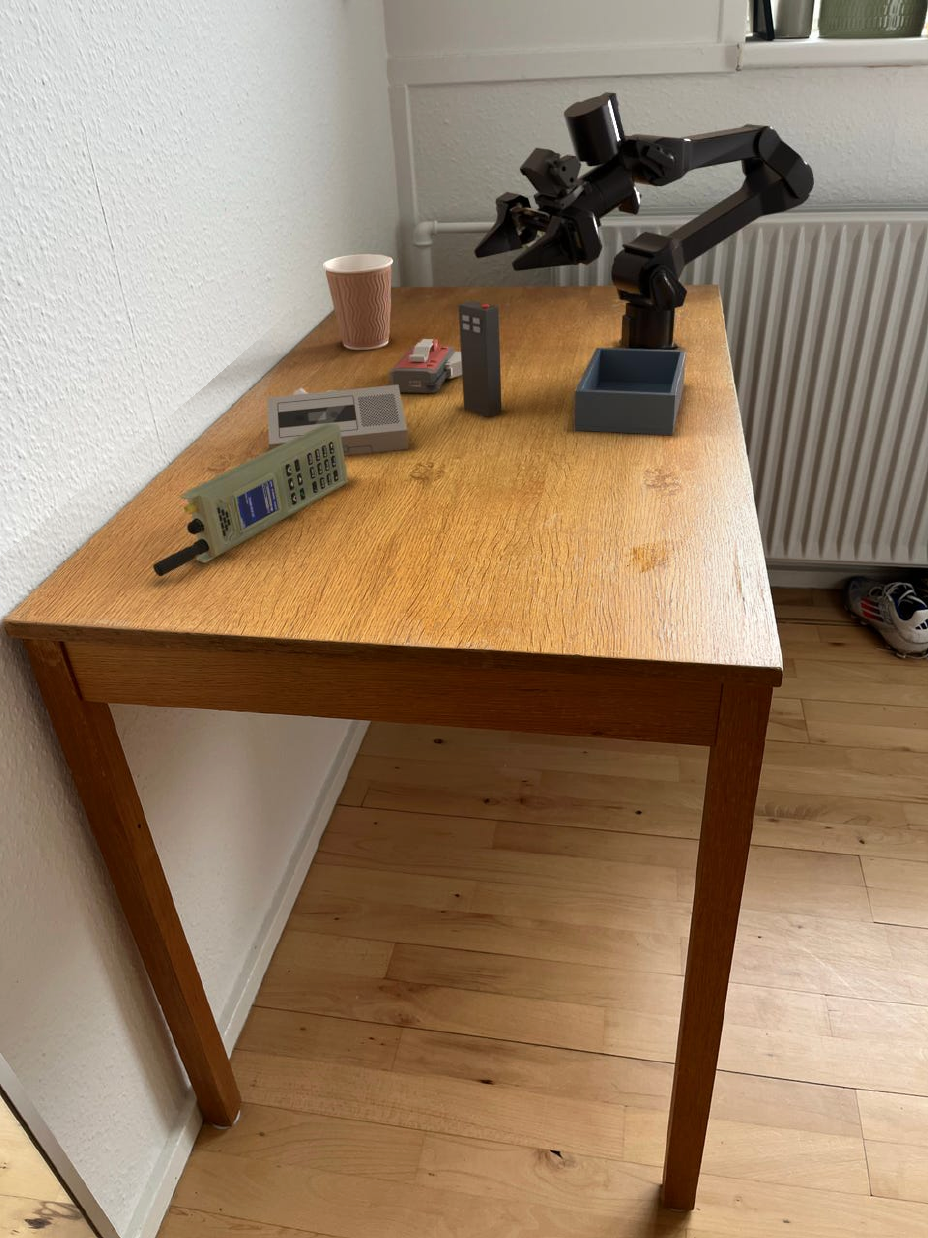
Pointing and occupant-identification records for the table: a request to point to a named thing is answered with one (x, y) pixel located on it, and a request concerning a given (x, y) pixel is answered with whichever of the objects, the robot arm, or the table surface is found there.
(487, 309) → the block
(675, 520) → the table surface
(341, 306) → the coffee cup
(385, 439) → the cassette player
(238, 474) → the handheld radio
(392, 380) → the walkie-talkie
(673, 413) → the tote
